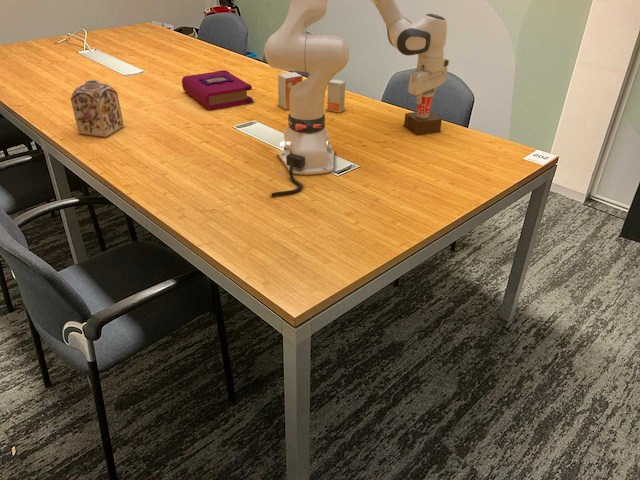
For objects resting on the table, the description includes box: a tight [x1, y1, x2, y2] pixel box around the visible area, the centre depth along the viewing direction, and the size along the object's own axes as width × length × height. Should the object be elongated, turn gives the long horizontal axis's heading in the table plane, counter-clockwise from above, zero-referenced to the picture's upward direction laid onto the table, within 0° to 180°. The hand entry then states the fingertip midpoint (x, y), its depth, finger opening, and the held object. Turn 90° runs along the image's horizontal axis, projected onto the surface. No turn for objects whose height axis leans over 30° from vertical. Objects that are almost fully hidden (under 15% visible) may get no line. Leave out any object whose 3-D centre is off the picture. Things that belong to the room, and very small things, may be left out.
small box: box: [277, 71, 303, 110], centre depth 216 cm, size 8×6×13 cm
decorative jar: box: [70, 79, 125, 138], centre depth 189 cm, size 12×12×18 cm
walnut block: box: [403, 111, 443, 136], centre depth 199 cm, size 10×10×5 cm
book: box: [181, 69, 254, 111], centre depth 225 cm, size 21×28×8 cm
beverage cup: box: [416, 90, 435, 118], centre depth 194 cm, size 6×6×14 cm
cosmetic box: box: [326, 78, 347, 114], centre depth 213 cm, size 6×4×12 cm
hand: (424, 101), depth 195 cm, fingers closed on beverage cup, 6 cm apart
